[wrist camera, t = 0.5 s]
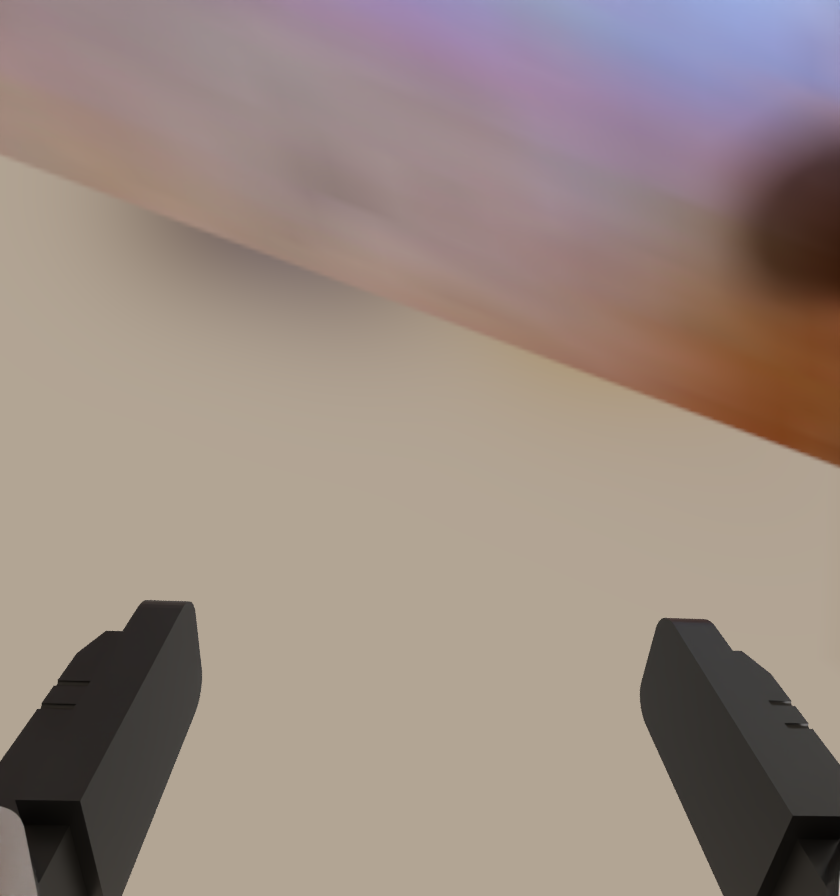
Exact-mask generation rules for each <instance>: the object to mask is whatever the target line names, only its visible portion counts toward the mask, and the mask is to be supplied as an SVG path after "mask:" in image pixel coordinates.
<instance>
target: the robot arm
mask: <svg viewBox="0 0 840 896" xmlns="http://www.w3.org/2000/svg"><path fill="white" fill-rule="evenodd" d="M201 684H202V667H201V659H200V650H199V641H198V632H197V623H196V614H195V608H194V605H193V604H192V602H186V601H156V600H154V601H153V600H145V601H143V602H142V603H141V604H140V605H139V606H138V608H137V609H136V611H135V613H134V614H133V616H132V617H131V619H130V620H129V622H128V624H127V625H126V627H125V628H124V630H123V631H105V632H104V633H103V634H101V635H100V636H99V637H98V638H96V639H95V640H94V641H92V642H91V643H90V644H89V645H87V646H86V647H84V648H83V649H82V650H81V651H79V652H78V653H77V654H76V655H75V657H74V658H73V660H72V661H71V663H70V664H69V665H68V667H67V668H66V669H65V671H64V672H63V674H62V675H61V677H60V678H59V679H58V684H57V686H53V688H52V689H51V691H50V692H49V693H48V695H47V696H46V698H45V699H44V701H43V702H42V706H41V709H37V710H36V712H35V713H34V715H33V716H32V718H31V719H30V720H29V722H28V723H27V725H26V726H25V727H24V729H23V730H22V732H21V733H20V735H19V736H18V737H17V739H16V740H15V742H14V743H13V744H12V746H11V747H10V749H9V750H8V751H7V753H6V754H5V756H4V757H3V759H2V760H1V761H0V896H122V894H123V891H124V889H125V886H126V884H127V882H128V879H129V876H130V874H131V871H132V869H133V867H134V864H135V862H136V859H137V856H138V854H139V851H140V849H141V847H142V844H143V842H144V839H145V837H146V834H147V831H148V829H149V827H150V824H151V822H152V819H153V817H154V814H155V811H156V809H157V807H158V804H159V802H160V799H161V797H162V794H163V792H164V789H165V787H166V784H167V782H168V779H169V777H170V774H171V771H172V769H173V767H174V764H175V762H176V759H177V757H178V754H179V751H180V749H181V747H182V744H183V742H184V739H185V737H186V734H187V732H188V729H189V727H190V724H191V722H192V719H193V717H194V714H195V712H196V708H197V705H198V701H199V697H200V692H201ZM640 703H641V709H642V715H643V718H644V721H645V724H646V726H647V728H648V730H649V732H650V735H651V737H652V739H653V742H654V744H655V746H656V748H657V750H658V752H659V755H660V757H661V759H662V761H663V763H664V766H665V768H666V770H667V772H668V774H669V777H670V779H671V781H672V783H673V786H674V788H675V790H676V792H677V794H678V797H679V799H680V801H681V803H682V805H683V808H684V810H685V812H686V814H687V816H688V819H689V821H690V823H691V825H692V827H693V830H694V832H695V834H696V836H697V838H698V841H699V843H700V845H701V847H702V850H703V852H704V854H705V856H706V858H707V861H708V863H709V865H710V867H711V869H712V871H713V874H714V876H715V878H716V880H717V882H718V885H719V887H720V889H721V891H722V894H723V895H724V896H840V764H839V763H838V762H837V761H836V759H835V758H834V757H833V755H832V754H831V753H830V751H829V750H828V749H827V747H826V746H825V745H824V743H823V742H822V741H821V739H820V738H819V737H818V736H817V734H816V733H815V732H814V730H813V729H809V727H808V722H807V721H806V720H805V719H804V717H803V716H802V714H801V713H800V712H799V711H798V709H797V708H796V707H795V706H792V705H791V700H790V699H789V697H788V696H787V695H786V693H785V692H784V691H783V690H782V688H781V687H780V686H779V684H778V683H777V682H776V680H775V679H774V678H773V676H772V675H771V674H770V673H769V672H768V671H766V670H765V669H764V668H762V667H761V666H760V665H759V664H757V663H756V662H755V661H754V660H752V659H751V658H750V657H749V656H747V655H746V654H745V653H743V652H742V651H732V649H731V648H730V646H729V645H728V644H727V642H726V641H725V640H724V638H723V637H722V635H721V634H720V633H719V631H718V630H717V629H716V627H715V626H714V624H713V623H711V622H710V621H708V620H705V619H679V618H663V619H661V620H660V621H659V623H658V624H657V627H656V630H655V634H654V637H653V641H652V645H651V649H650V652H649V656H648V660H647V663H646V667H645V671H644V675H643V678H642V682H641V687H640Z"/></svg>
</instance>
